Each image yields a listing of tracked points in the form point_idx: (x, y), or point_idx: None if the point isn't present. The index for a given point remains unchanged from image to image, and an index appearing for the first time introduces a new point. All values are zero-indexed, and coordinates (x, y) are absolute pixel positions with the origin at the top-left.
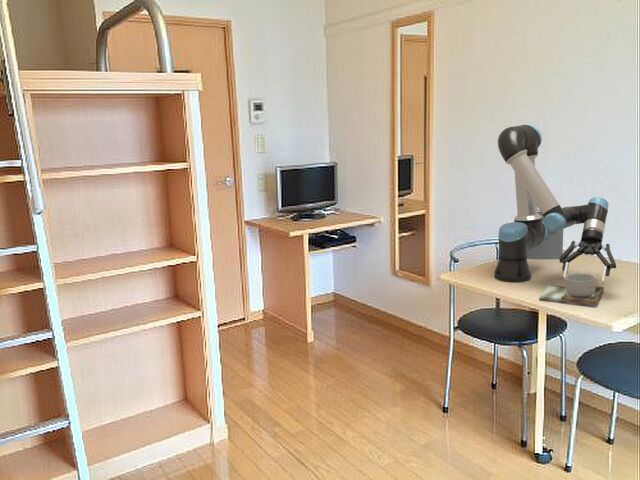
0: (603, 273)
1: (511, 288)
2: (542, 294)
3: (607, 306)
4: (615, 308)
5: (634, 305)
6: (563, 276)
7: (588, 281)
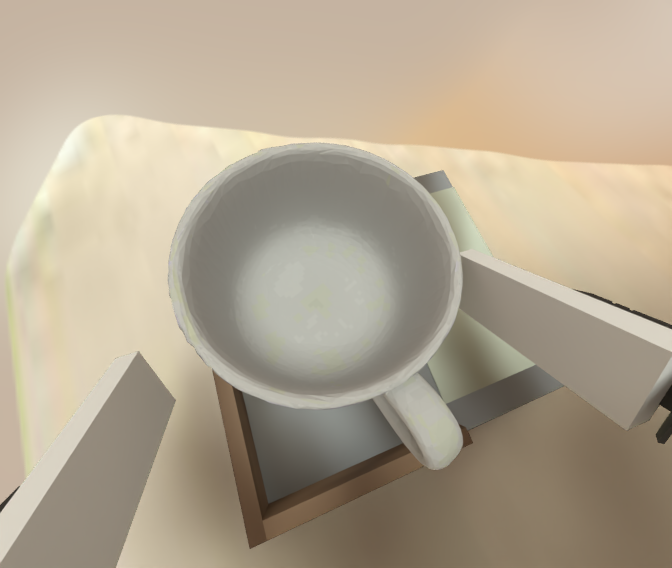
0: (73, 441)
1: (629, 239)
2: (465, 212)
3: (156, 290)
4: (111, 288)
5: (18, 406)
6: (471, 251)
7: (205, 188)
